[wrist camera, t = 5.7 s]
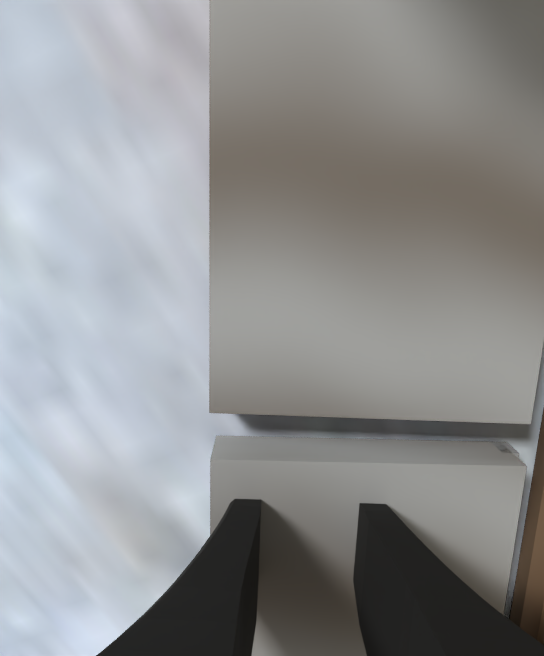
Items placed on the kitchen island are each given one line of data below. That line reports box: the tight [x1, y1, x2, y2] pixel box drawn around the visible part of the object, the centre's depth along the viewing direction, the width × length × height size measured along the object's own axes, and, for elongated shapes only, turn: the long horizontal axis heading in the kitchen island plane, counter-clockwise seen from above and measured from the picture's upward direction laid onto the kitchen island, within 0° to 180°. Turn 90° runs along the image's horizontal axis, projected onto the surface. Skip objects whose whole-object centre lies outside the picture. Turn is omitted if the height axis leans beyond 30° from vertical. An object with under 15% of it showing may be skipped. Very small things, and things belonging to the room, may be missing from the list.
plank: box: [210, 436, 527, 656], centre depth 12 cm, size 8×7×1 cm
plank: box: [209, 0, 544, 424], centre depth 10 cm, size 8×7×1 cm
